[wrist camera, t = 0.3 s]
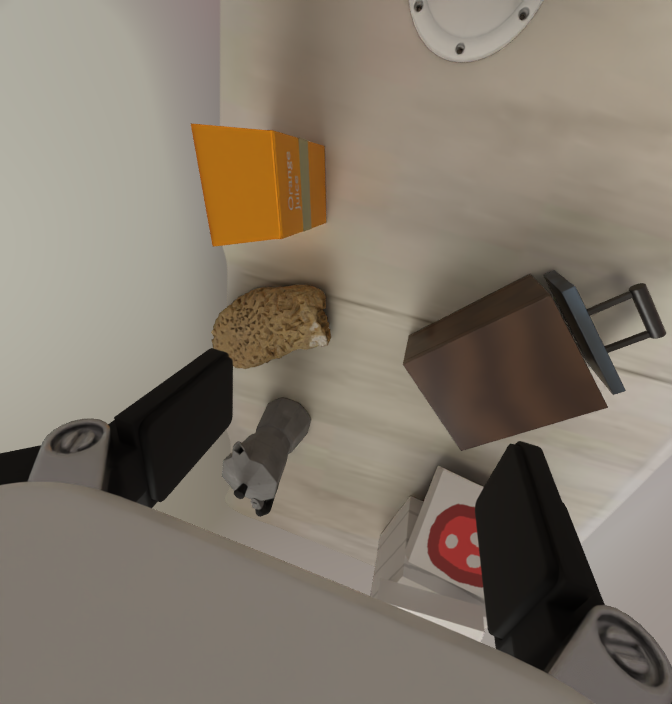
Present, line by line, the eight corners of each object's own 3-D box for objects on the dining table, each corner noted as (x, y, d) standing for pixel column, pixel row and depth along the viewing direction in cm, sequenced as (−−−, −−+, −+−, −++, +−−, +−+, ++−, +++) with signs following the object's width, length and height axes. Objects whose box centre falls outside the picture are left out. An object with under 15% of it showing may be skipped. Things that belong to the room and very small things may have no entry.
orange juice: (325, 145, 39) (238, 118, 22) (327, 223, 44) (254, 250, 26) (266, 147, 41) (145, 124, 24) (273, 222, 45) (173, 247, 28)
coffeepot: (257, 387, 60) (195, 457, 45) (304, 388, 57) (254, 464, 42) (277, 451, 67) (228, 532, 51) (320, 455, 64) (281, 542, 48)
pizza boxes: (538, 495, 54) (577, 620, 39) (448, 575, 69) (451, 688, 54) (430, 445, 55) (426, 547, 40) (366, 535, 71) (345, 633, 55)
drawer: (608, 242, 35) (642, 254, 29) (652, 341, 38) (691, 371, 33) (431, 330, 45) (430, 353, 39) (478, 404, 48) (483, 435, 42)
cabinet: (530, 273, 40) (551, 295, 32) (578, 368, 43) (608, 407, 36) (408, 335, 48) (402, 364, 40) (458, 411, 51) (461, 451, 43)
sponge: (323, 269, 48) (197, 289, 50) (319, 293, 42) (175, 314, 44) (338, 342, 55) (228, 356, 58) (336, 372, 49) (213, 386, 52)
